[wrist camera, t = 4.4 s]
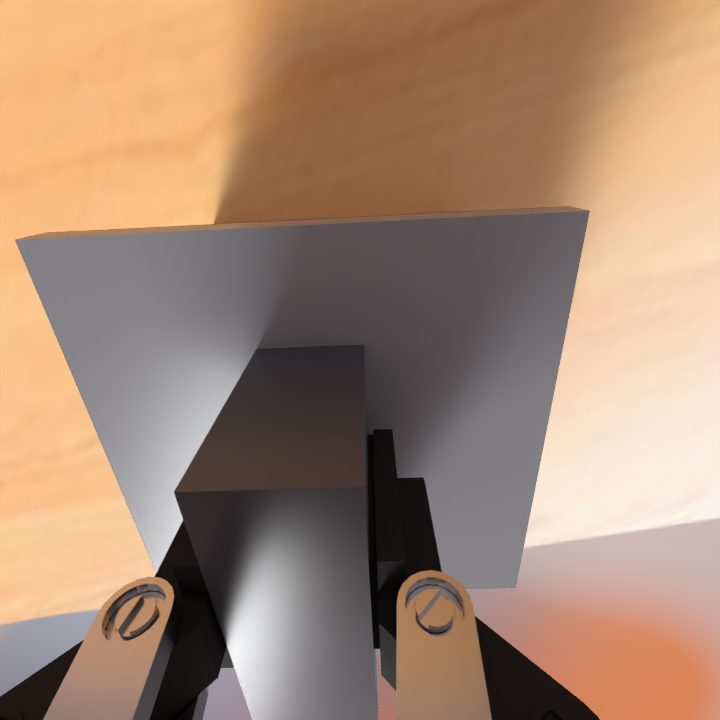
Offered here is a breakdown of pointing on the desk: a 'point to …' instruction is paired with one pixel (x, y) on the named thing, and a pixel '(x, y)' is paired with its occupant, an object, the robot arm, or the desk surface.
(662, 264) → the desk surface
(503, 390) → the lid
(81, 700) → the robot arm
